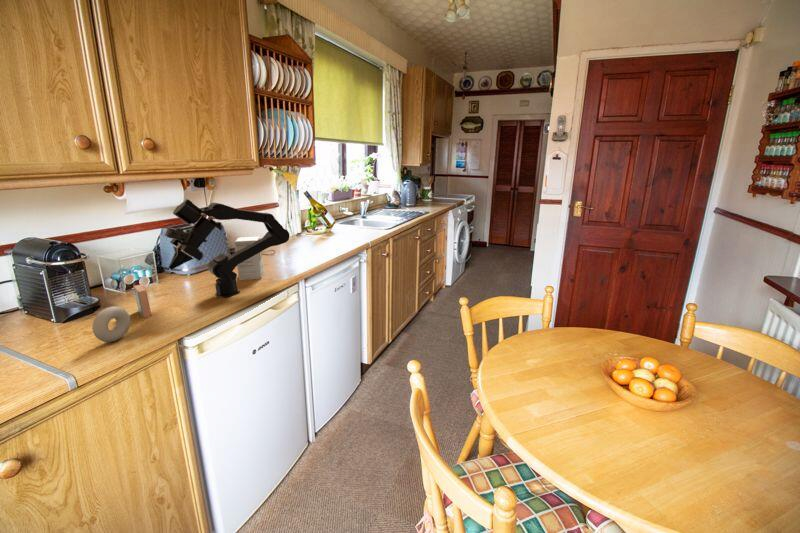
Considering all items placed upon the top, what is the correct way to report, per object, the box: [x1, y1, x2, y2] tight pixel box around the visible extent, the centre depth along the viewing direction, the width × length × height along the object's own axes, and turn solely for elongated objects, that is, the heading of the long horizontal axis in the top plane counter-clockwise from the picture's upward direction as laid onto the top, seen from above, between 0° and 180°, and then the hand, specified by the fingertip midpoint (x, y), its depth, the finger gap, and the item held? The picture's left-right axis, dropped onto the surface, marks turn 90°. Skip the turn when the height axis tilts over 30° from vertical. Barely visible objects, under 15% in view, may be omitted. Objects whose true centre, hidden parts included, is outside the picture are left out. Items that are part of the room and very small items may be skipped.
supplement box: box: [233, 236, 265, 281], centre depth 161 cm, size 10×9×17 cm
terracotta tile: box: [132, 284, 153, 319], centre depth 124 cm, size 2×8×9 cm, turn 43°
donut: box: [92, 306, 131, 343], centre depth 105 cm, size 10×4×10 cm, turn 166°
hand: (169, 268), depth 128 cm, fingers closed
